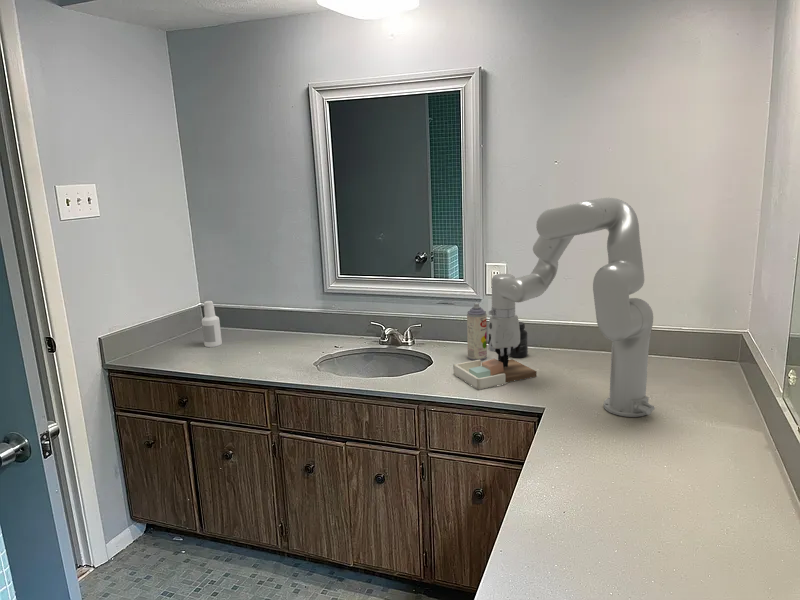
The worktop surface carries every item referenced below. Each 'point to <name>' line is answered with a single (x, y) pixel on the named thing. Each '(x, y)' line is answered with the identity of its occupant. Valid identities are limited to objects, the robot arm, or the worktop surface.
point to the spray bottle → (211, 326)
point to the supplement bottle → (521, 344)
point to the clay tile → (493, 366)
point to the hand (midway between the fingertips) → (503, 365)
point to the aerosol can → (477, 333)
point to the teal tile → (480, 371)
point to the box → (479, 383)
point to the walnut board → (517, 371)
